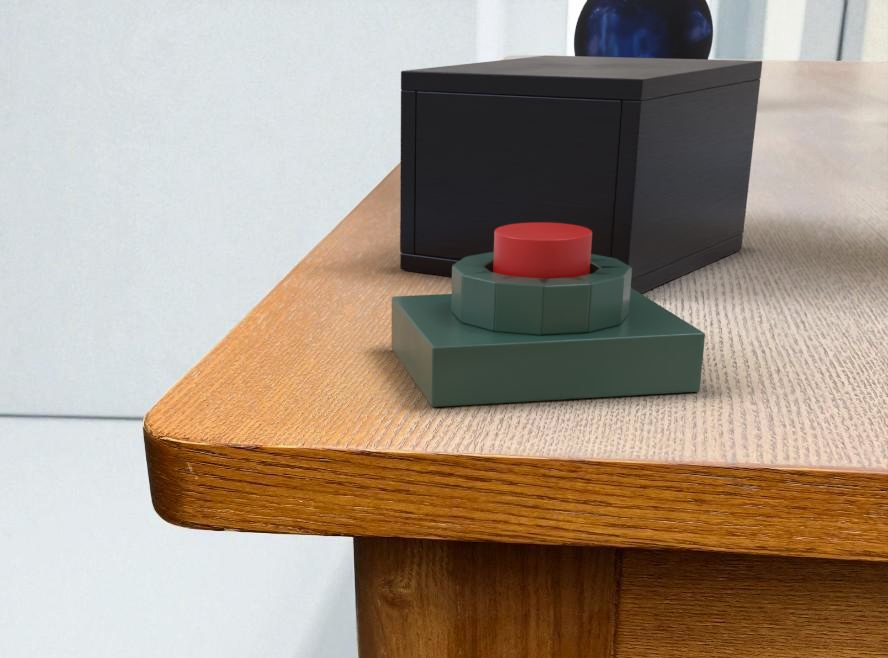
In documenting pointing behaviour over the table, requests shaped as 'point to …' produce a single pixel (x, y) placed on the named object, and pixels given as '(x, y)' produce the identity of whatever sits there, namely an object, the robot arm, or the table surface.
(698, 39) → the decorative sphere
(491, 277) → the block
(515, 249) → the button
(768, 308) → the table surface
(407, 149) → the black paneled box
